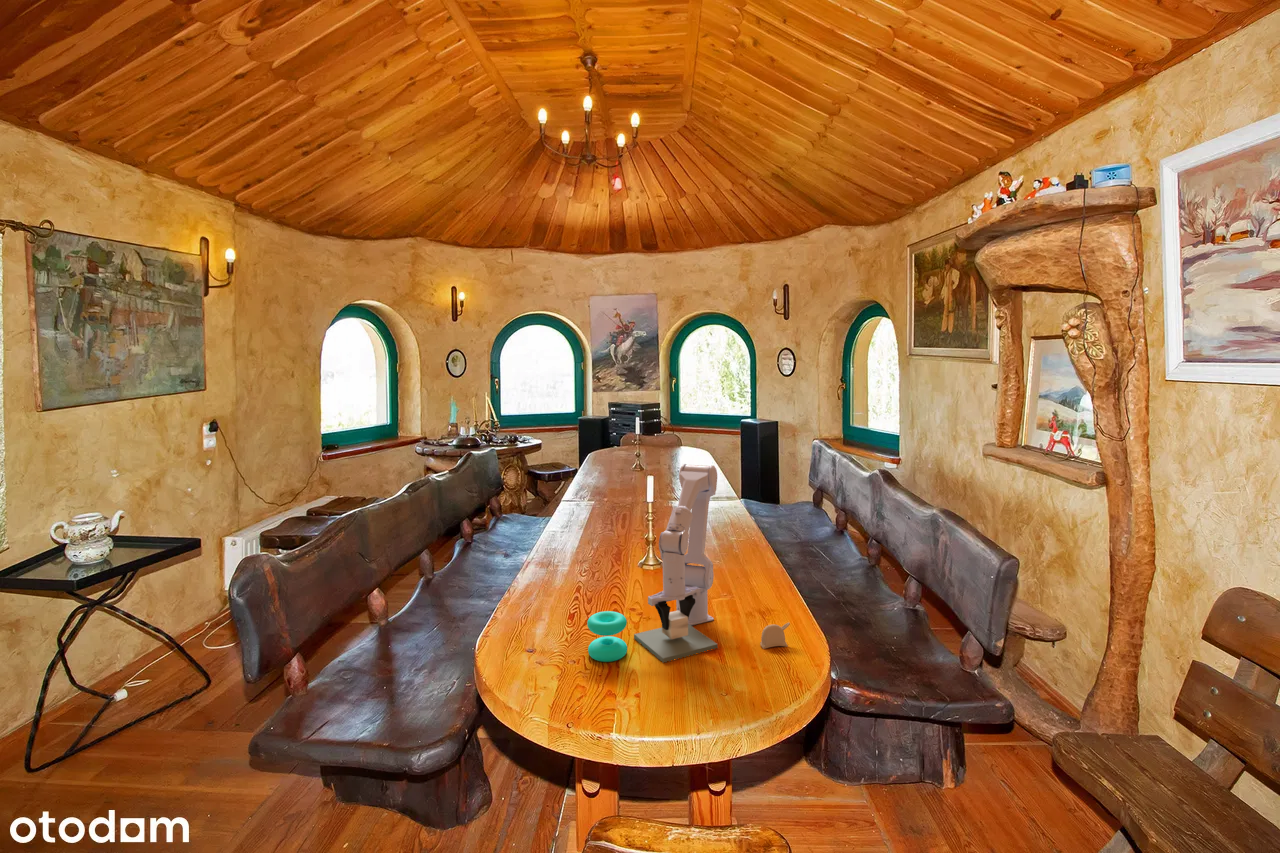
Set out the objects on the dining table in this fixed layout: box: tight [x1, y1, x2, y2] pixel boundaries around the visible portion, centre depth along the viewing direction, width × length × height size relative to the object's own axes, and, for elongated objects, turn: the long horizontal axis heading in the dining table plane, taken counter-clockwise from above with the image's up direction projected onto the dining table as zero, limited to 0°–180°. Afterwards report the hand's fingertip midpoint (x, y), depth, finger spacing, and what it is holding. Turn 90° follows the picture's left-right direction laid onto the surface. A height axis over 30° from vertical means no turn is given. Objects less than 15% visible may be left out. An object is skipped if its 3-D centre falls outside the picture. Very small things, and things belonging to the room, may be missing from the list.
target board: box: [633, 624, 719, 664], centre depth 177 cm, size 16×16×1 cm
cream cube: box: [661, 609, 688, 639], centre depth 176 cm, size 5×5×5 cm
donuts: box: [586, 610, 628, 663], centre depth 171 cm, size 10×10×10 cm
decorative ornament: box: [759, 622, 791, 650], centre depth 175 cm, size 4×8×5 cm, turn 99°
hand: (674, 626), depth 176 cm, fingers closed on cream cube, 5 cm apart
